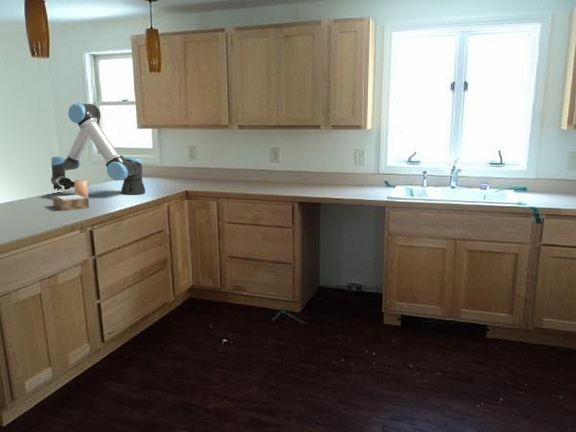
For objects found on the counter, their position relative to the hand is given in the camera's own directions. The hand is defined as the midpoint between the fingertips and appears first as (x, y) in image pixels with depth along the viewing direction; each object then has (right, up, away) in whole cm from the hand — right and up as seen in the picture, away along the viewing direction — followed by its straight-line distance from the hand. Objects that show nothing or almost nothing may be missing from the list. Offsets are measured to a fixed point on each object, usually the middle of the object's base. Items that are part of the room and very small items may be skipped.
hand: (75, 187), depth 277 cm
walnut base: (+8, -12, -24) cm, 28 cm away
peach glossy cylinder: (+6, -8, -6) cm, 12 cm away
